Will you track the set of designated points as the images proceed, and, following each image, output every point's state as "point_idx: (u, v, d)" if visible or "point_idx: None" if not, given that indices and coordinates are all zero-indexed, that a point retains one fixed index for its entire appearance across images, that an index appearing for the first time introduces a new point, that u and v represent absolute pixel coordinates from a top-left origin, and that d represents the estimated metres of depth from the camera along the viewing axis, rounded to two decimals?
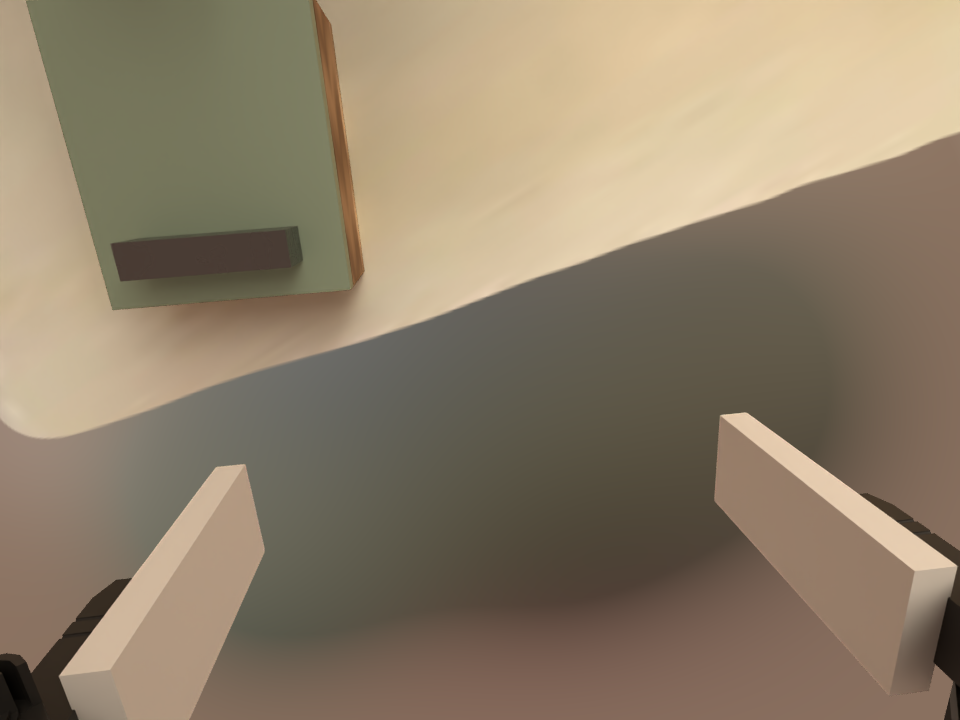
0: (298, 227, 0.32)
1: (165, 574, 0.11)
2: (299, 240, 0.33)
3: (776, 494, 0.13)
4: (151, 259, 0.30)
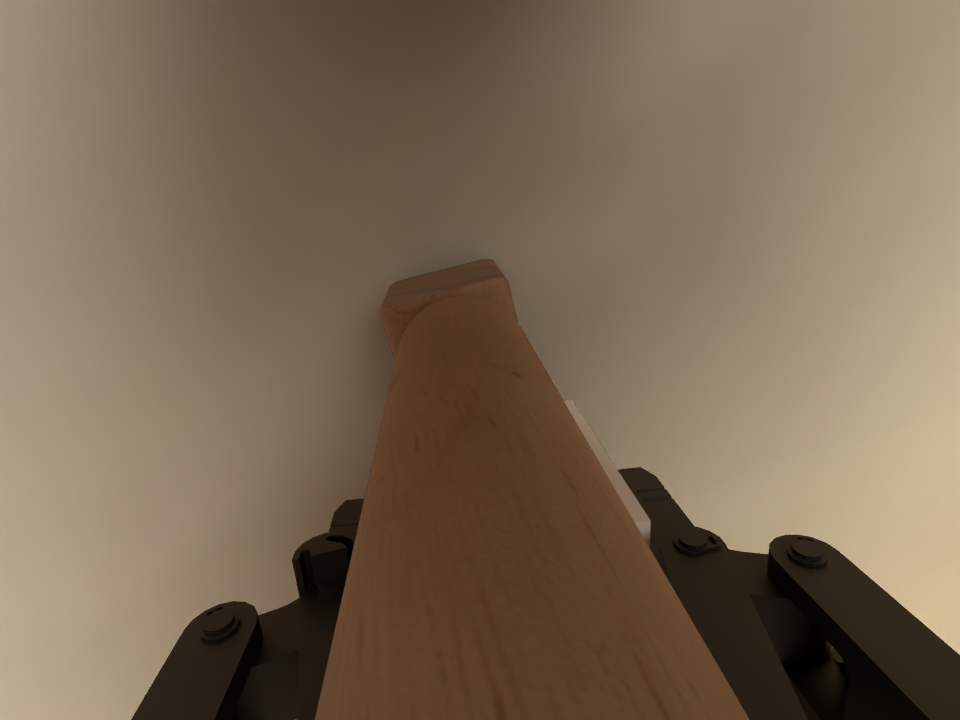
0: None
1: None
2: None
3: None
4: None
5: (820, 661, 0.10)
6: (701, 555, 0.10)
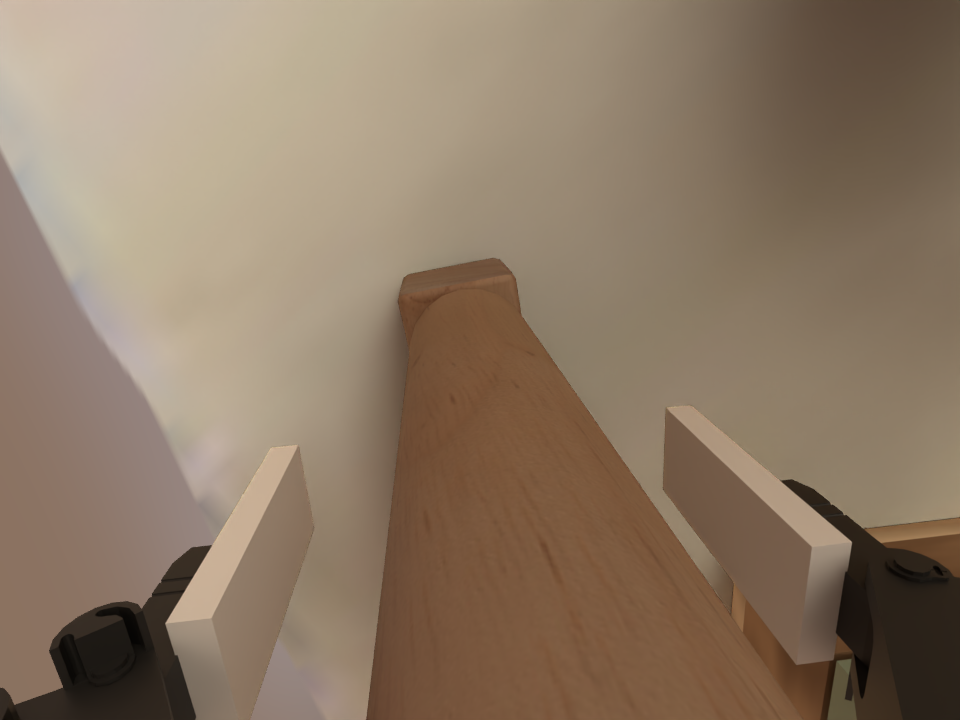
0: None
1: (243, 539, 0.11)
2: None
3: (710, 481, 0.14)
4: None
5: None
6: (921, 583, 0.09)
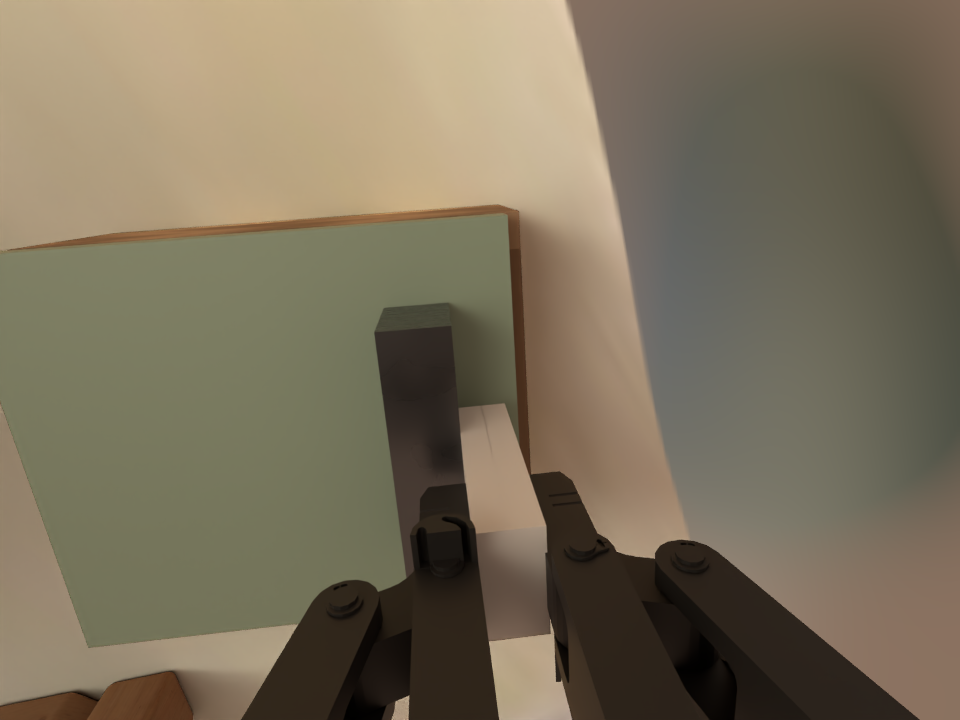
0: (386, 306, 0.17)
1: (490, 475, 0.13)
2: (410, 306, 0.17)
3: None
4: None
5: (709, 662, 0.10)
6: (591, 559, 0.10)
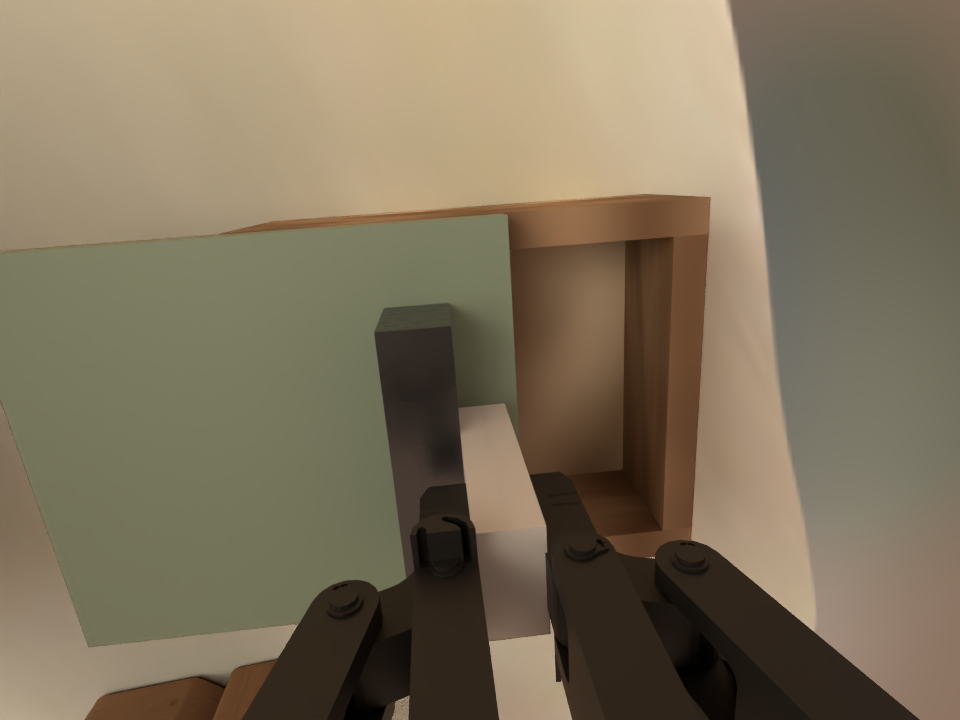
0: (386, 306, 0.17)
1: (490, 475, 0.13)
2: (410, 306, 0.17)
3: None
4: None
5: (709, 662, 0.10)
6: (591, 559, 0.10)
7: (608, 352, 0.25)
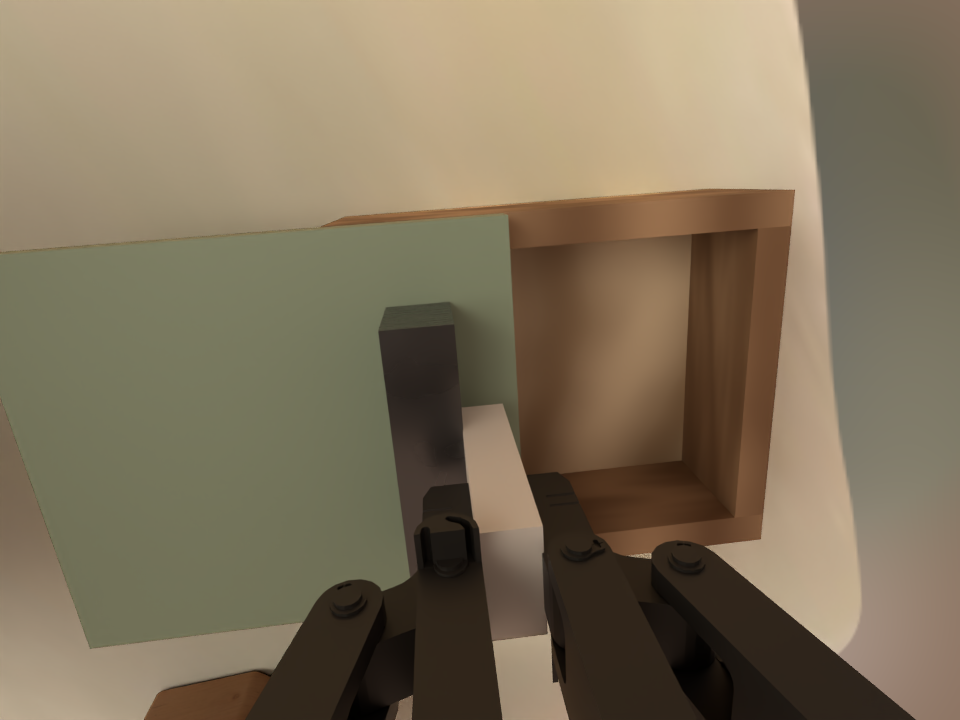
0: (388, 305, 0.17)
1: (493, 475, 0.13)
2: (412, 305, 0.17)
3: None
4: None
5: (705, 663, 0.10)
6: (588, 560, 0.10)
7: (671, 344, 0.26)
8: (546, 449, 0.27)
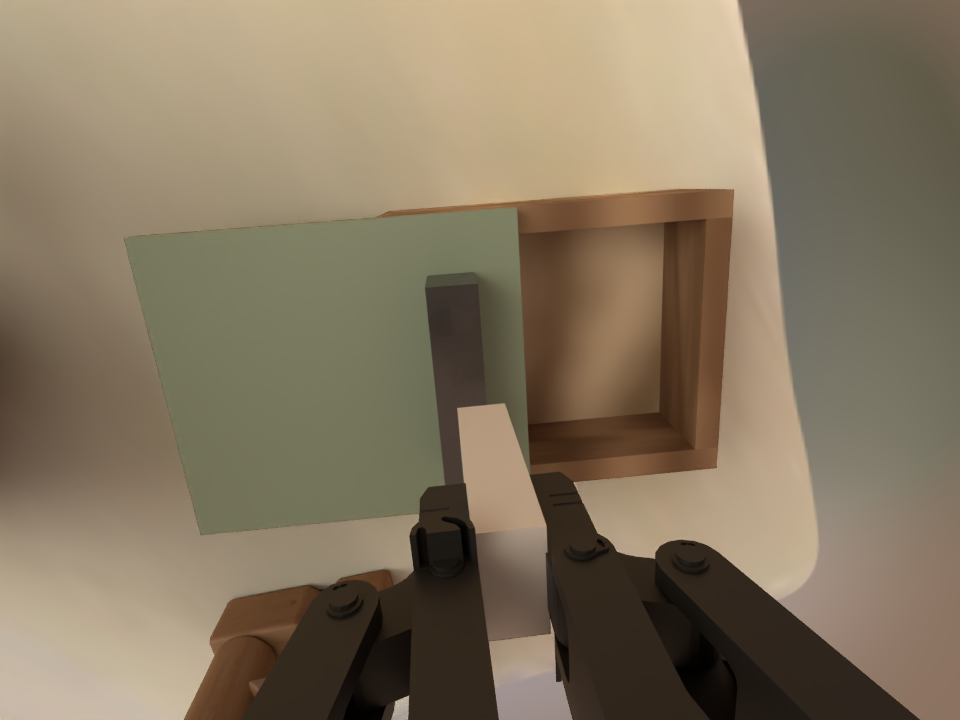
0: (429, 274, 0.24)
1: (490, 475, 0.13)
2: (446, 274, 0.24)
3: None
4: None
5: (709, 663, 0.10)
6: (591, 559, 0.10)
7: (649, 315, 0.32)
8: (547, 400, 0.33)
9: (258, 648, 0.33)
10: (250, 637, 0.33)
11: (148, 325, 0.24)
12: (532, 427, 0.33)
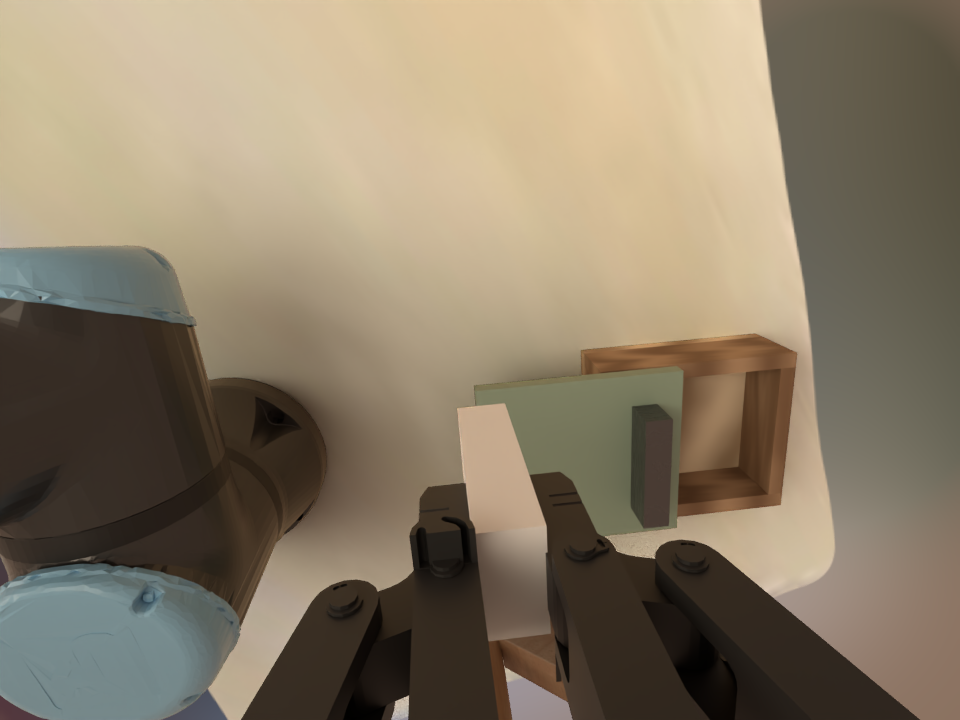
0: (633, 405, 0.43)
1: (490, 475, 0.13)
2: (643, 406, 0.43)
3: None
4: (657, 506, 0.42)
5: (709, 662, 0.10)
6: (591, 559, 0.10)
7: (735, 409, 0.51)
8: None
9: None
10: None
11: None
12: None
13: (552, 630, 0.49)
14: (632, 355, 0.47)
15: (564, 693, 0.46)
